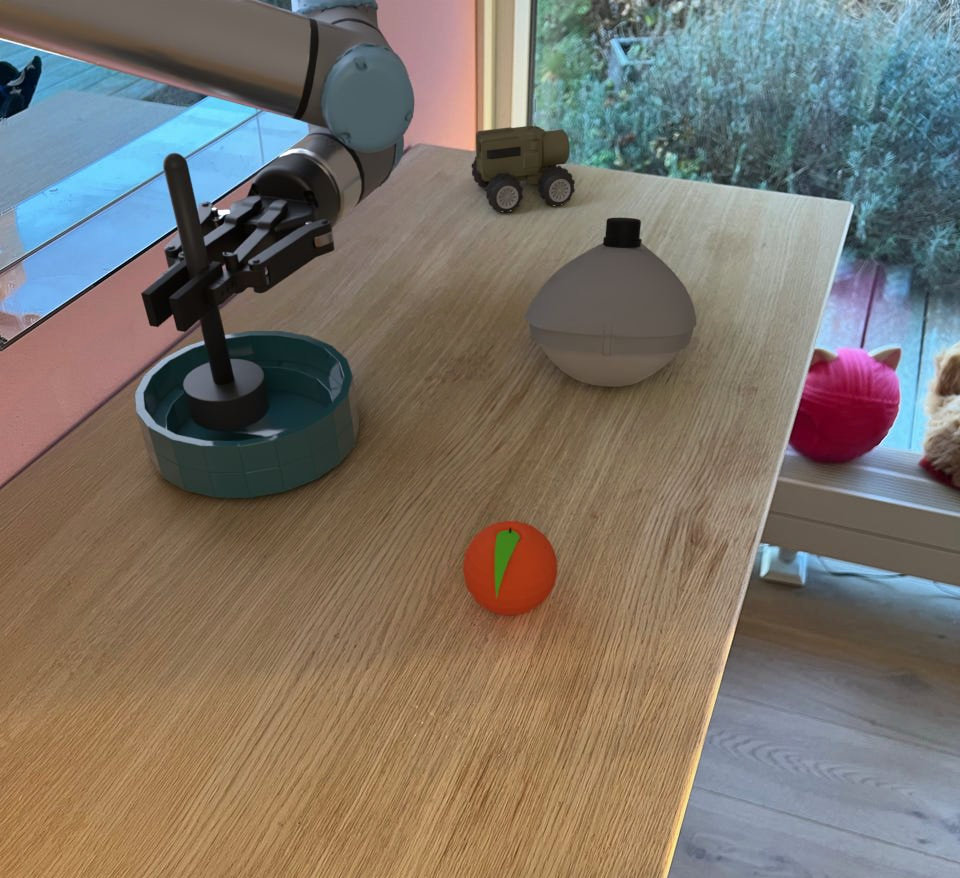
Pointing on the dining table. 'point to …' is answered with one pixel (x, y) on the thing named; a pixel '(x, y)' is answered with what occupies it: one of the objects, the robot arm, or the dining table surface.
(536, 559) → the clementine
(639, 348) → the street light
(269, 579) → the dining table surface
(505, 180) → the toy vehicle
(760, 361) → the dining table surface
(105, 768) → the dining table surface
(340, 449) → the bowl
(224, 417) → the black peg stand
